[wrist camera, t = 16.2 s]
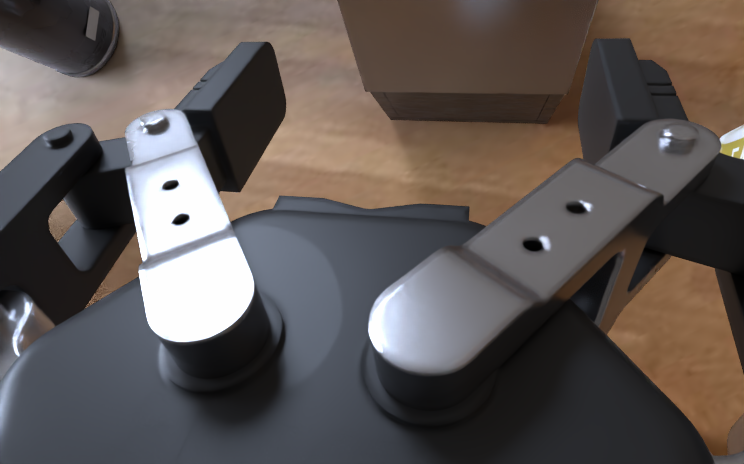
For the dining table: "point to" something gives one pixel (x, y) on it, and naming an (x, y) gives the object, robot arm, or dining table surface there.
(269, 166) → the dining table surface
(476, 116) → the black hinged box
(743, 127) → the juice carton
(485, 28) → the lid
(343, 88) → the dining table surface
